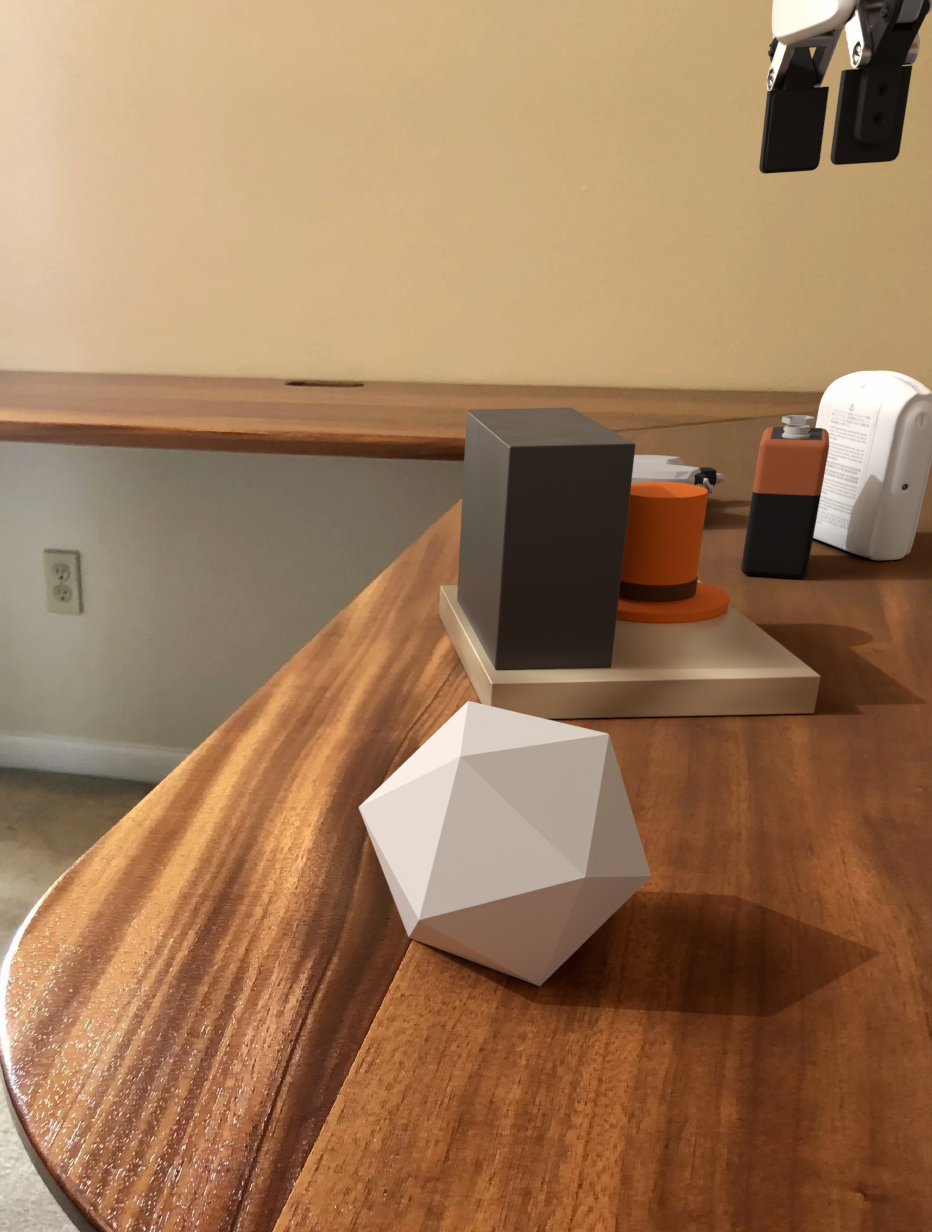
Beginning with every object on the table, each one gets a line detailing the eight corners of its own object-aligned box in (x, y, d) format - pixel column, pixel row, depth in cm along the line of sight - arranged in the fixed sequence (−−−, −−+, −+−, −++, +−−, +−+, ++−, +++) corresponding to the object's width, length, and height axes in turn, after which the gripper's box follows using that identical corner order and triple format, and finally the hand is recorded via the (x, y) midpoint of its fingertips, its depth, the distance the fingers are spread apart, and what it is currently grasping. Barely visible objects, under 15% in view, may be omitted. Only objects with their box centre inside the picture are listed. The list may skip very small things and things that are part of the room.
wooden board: (694, 610, 83) (699, 579, 82) (814, 713, 66) (821, 675, 65) (438, 616, 83) (440, 585, 82) (488, 720, 66) (491, 682, 65)
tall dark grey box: (557, 598, 79) (574, 406, 74) (614, 667, 66) (639, 443, 61) (456, 600, 79) (466, 409, 74) (494, 670, 66) (509, 446, 61)
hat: (701, 583, 81) (716, 474, 78) (749, 621, 73) (768, 502, 70) (558, 586, 81) (567, 477, 78) (591, 625, 74) (603, 505, 70)
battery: (807, 558, 95) (832, 414, 90) (805, 580, 89) (833, 427, 85) (744, 555, 96) (766, 412, 92) (739, 576, 91) (762, 425, 86)
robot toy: (589, 501, 120) (547, 519, 108) (595, 450, 118) (552, 462, 106) (726, 510, 115) (698, 530, 103) (734, 457, 113) (707, 470, 101)
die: (677, 958, 46) (605, 690, 47) (661, 953, 37) (575, 627, 39) (446, 1011, 48) (385, 757, 50) (383, 1018, 40) (311, 712, 41)
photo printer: (920, 559, 94) (960, 376, 88) (867, 563, 93) (903, 379, 88) (837, 531, 103) (868, 363, 97) (787, 534, 102) (816, 365, 96)
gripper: (1061, -327, 53) (977, 153, 61) (875, -201, 68) (827, 170, 76) (878, -315, 53) (818, 164, 61) (733, -191, 68) (700, 178, 76)
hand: (823, 167), depth 69 cm, fingers open, 9 cm apart
